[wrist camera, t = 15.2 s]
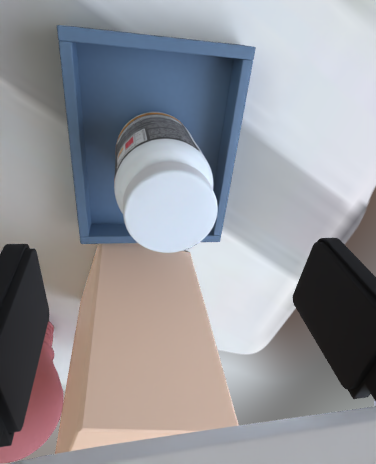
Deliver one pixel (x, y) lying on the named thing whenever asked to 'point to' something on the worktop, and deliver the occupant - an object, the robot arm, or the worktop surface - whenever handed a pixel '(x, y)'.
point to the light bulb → (38, 407)
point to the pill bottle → (163, 184)
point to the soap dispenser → (142, 353)
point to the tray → (146, 111)
